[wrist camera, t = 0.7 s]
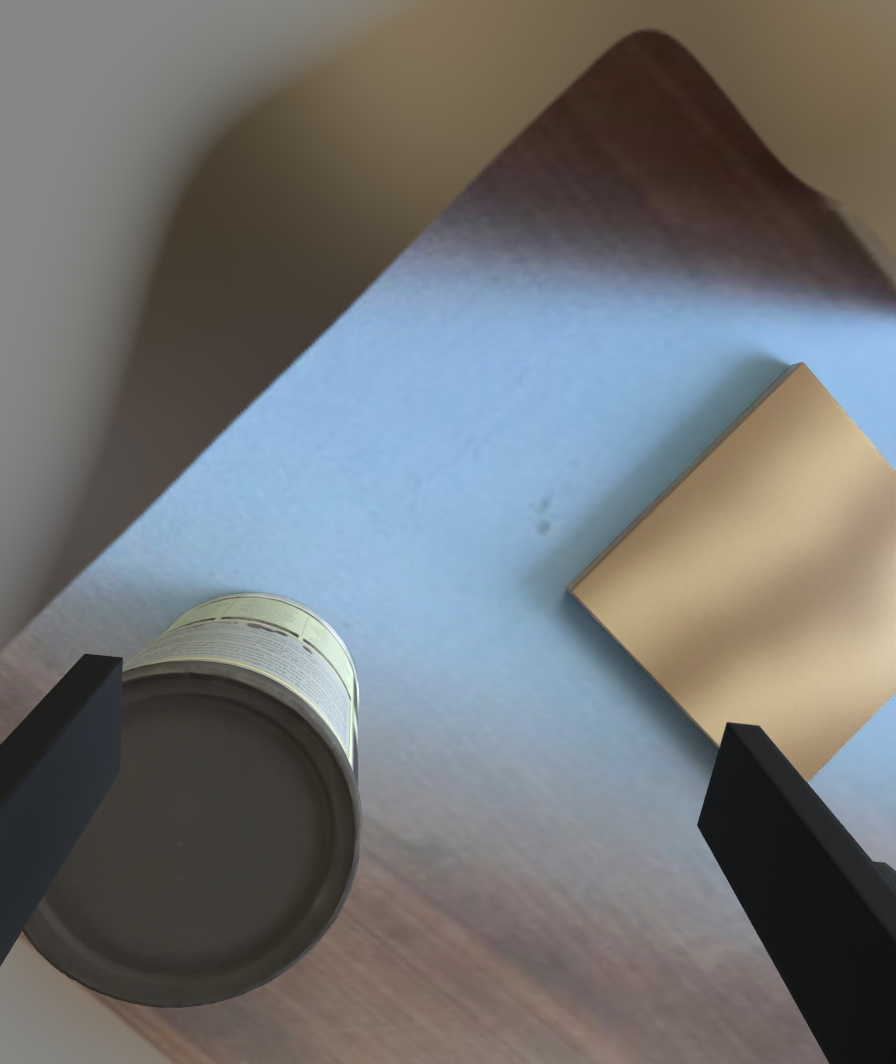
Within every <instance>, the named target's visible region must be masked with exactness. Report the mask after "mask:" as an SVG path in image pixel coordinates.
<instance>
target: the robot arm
mask: <svg viewBox="0 0 896 1064" xmlns="http://www.w3.org/2000/svg"><path fill="white" fill-rule="evenodd" d="M122 673H123V658H121V657H111V656H102V655H92V654H84V655H83V656H82V657H81V658H80V659H79V660H78V661H77V663H76V664H75V665H74V666H73V667H72V668H71V669H70V670H69V671H68V672H67V673H66V674H65V676H64V677H63V678H62V679H61V680H60V681H59V682H58V683H57V684H56V685H55V686H54V687H53V689H52V690H51V691H50V692H49V693H48V694H47V695H46V696H45V697H44V698H43V699H42V700H41V702H40V703H39V704H38V705H37V706H36V707H35V708H34V709H33V710H32V711H31V712H30V713H29V715H28V716H27V717H26V718H25V719H24V720H23V721H22V722H21V723H20V724H19V725H18V726H17V728H16V729H15V730H14V731H13V732H12V733H11V734H10V735H9V736H8V737H7V738H6V739H5V740H4V742H3V743H2V744H1V745H0V966H1V964H2V963H3V961H4V959H5V958H6V956H7V954H8V953H9V951H10V950H11V948H12V946H13V945H14V943H15V942H16V940H17V938H18V937H19V935H20V933H21V932H22V930H23V929H24V927H25V925H26V924H27V922H28V920H29V919H30V917H31V916H32V914H33V912H34V911H35V909H36V907H37V906H38V904H39V903H40V901H41V899H42V898H43V896H44V894H45V893H46V891H47V890H48V888H49V886H50V885H51V883H52V881H53V880H54V878H55V877H56V875H57V873H58V872H59V870H60V868H61V867H62V865H63V864H64V862H65V860H66V859H67V857H68V855H69V854H70V852H71V851H72V849H73V847H74V846H75V844H76V842H77V841H78V839H79V838H80V836H81V834H82V833H83V831H84V829H85V828H86V826H87V825H88V823H89V821H90V820H91V818H92V816H93V815H94V813H95V812H96V810H97V808H98V807H99V805H100V803H101V802H102V800H103V799H104V797H105V795H106V794H107V792H108V790H109V789H110V787H111V786H112V784H113V782H114V781H115V779H116V777H117V776H118V774H119V773H120V752H121V712H122ZM697 826H698V828H699V830H700V831H701V833H702V835H703V837H704V839H705V840H706V842H707V844H708V846H709V848H710V849H711V851H712V853H713V855H714V857H715V858H716V860H717V862H718V864H719V866H720V867H721V869H722V871H723V873H724V875H725V876H726V878H727V880H728V882H729V884H730V885H731V887H732V889H733V891H734V893H735V894H736V896H737V898H738V900H739V902H740V903H741V905H742V907H743V909H744V911H745V912H746V914H747V916H748V918H749V920H750V921H751V923H752V925H753V927H754V929H755V930H756V932H757V934H758V936H759V938H760V939H761V941H762V943H763V945H764V947H765V948H766V950H767V952H768V954H769V956H770V957H771V959H772V961H773V963H774V965H775V966H776V968H777V970H778V972H779V974H780V975H781V977H782V979H783V981H784V983H785V984H786V986H787V988H788V990H789V992H790V993H791V995H792V997H793V999H794V1001H795V1002H796V1004H797V1006H798V1008H799V1010H800V1011H801V1013H802V1015H803V1017H804V1019H805V1020H806V1022H807V1024H808V1026H809V1028H810V1029H811V1031H812V1033H813V1035H814V1037H815V1038H816V1040H817V1042H818V1044H819V1046H820V1047H821V1049H822V1051H823V1053H824V1055H825V1056H826V1058H827V1060H828V1062H829V1064H896V871H895V870H894V869H893V868H891V867H890V866H889V865H887V864H886V863H883V862H873V861H872V860H871V859H870V857H869V856H868V855H867V854H866V853H865V851H864V850H863V849H862V848H861V847H860V845H859V844H858V843H857V842H856V841H855V839H854V838H853V837H852V836H851V835H850V833H849V832H848V831H847V830H846V829H845V827H844V826H843V825H842V824H841V823H840V821H839V820H838V819H837V818H836V817H835V816H834V814H833V813H832V812H831V811H830V810H829V808H828V807H827V806H826V805H825V804H824V802H823V801H822V800H821V799H820V798H819V796H818V795H817V794H816V793H815V792H814V790H813V789H812V788H811V787H810V786H809V784H808V783H807V782H806V781H805V780H804V778H803V777H802V776H801V775H800V774H799V772H798V771H797V770H796V769H795V768H794V766H793V765H792V764H791V763H790V762H789V760H788V759H787V758H786V757H785V756H784V754H783V753H782V752H781V751H780V750H779V748H778V747H777V746H776V745H775V744H774V742H773V741H772V740H771V739H770V738H769V736H768V735H767V734H766V733H765V732H764V730H763V729H762V728H761V727H760V726H759V725H750V724H741V723H732V722H727V723H726V726H725V730H724V733H723V737H722V740H721V744H720V747H719V751H718V754H717V758H716V761H715V765H714V768H713V772H712V775H711V779H710V782H709V786H708V789H707V793H706V796H705V800H704V803H703V807H702V810H701V814H700V817H699V821H698V824H697Z"/></svg>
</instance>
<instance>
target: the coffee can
mask: <svg viewBox="0 0 896 1064" xmlns="http://www.w3.org/2000/svg"><path fill="white" fill-rule="evenodd" d="M358 707H359V686H358V679H357V674H356V669H355V666H354V663H353V660H352V658H351V656H350V653H349V651H348V649H347V648H346V646H345V644H344V642H343V641H342V639H341V638H340V637H339V635H338V634H337V633H336V632H335V630H334V629H333V628H332V627H331V626H330V625H329V624H328V623H327V622H326V621H325V620H324V619H323V618H321V617H320V616H319V615H318V614H316V613H315V612H313V611H312V610H310V609H309V608H307V607H306V606H304V605H302V604H300V603H298V602H295V601H292V600H289V599H286V598H284V597H280V596H276V595H271V594H264V593H238V594H231V595H226V596H221V597H216V598H214V599H211V600H209V601H207V602H205V603H202V604H200V605H197V606H196V607H194V608H192V609H191V610H189V611H188V612H186V613H184V614H183V615H182V616H180V617H179V618H178V619H177V620H176V621H174V622H173V623H172V624H171V625H170V626H169V627H168V628H167V629H166V631H165V632H164V633H162V634H161V635H160V636H159V637H157V638H156V639H155V640H153V641H152V642H151V643H150V644H148V645H147V646H146V647H144V648H143V649H142V650H141V651H140V652H138V653H137V654H136V655H135V656H133V657H132V658H131V659H130V660H128V661H127V662H126V663H124V664H123V673H122V712H121V752H120V773H119V774H118V776H117V777H116V779H115V781H114V782H113V784H112V786H111V787H110V789H109V790H108V792H107V794H106V795H105V797H104V799H103V800H102V802H101V803H100V805H99V807H98V808H97V810H96V812H95V813H94V815H93V816H92V818H91V820H90V821H89V823H88V825H87V826H86V828H85V829H84V831H83V833H82V834H81V836H80V838H79V839H78V841H77V842H76V844H75V846H74V847H73V849H72V851H71V852H70V854H69V855H68V857H67V859H66V860H65V862H64V864H63V865H62V867H61V868H60V870H59V872H58V873H57V875H56V877H55V878H54V880H53V881H52V883H51V885H50V886H49V888H48V890H47V891H46V893H45V894H44V896H43V898H42V899H41V901H40V903H39V904H38V906H37V907H36V909H35V911H34V912H33V914H32V916H31V917H30V919H29V920H28V922H27V924H26V925H25V927H24V929H23V930H22V931H23V933H24V934H25V936H26V937H27V939H28V940H29V941H30V942H31V944H32V945H33V946H34V947H35V949H36V950H37V951H38V952H39V953H40V954H41V955H42V956H43V957H44V958H45V959H46V960H47V961H48V962H49V963H50V964H52V965H53V966H54V967H55V968H56V969H58V970H59V971H60V972H61V973H64V974H65V975H66V976H67V977H68V978H70V979H73V980H75V981H77V982H78V983H80V984H82V985H84V986H85V987H87V988H89V989H91V990H93V991H96V992H98V993H101V994H104V995H107V996H110V997H112V998H115V999H118V1000H122V1001H126V1002H129V1003H133V1004H139V1005H144V1006H151V1007H160V1008H166V1007H173V1008H181V1007H191V1006H201V1005H205V1004H211V1003H216V1002H219V1001H223V1000H226V999H230V998H233V997H236V996H239V995H242V994H245V993H247V992H249V991H251V990H253V989H255V988H258V987H260V986H263V985H265V984H267V983H268V982H270V981H272V980H273V979H275V978H277V977H278V976H280V975H281V974H283V973H284V972H285V971H287V970H288V969H290V968H291V967H292V966H294V965H295V964H296V963H298V962H299V961H300V960H301V959H302V958H303V957H304V956H305V955H307V954H308V953H309V952H310V951H311V950H312V949H313V948H314V947H315V945H316V944H317V943H318V942H319V941H320V939H321V938H322V937H323V936H324V935H325V933H326V932H327V931H328V930H329V928H330V927H331V925H332V924H333V923H334V921H335V920H336V919H337V917H338V915H339V913H340V911H341V909H342V907H343V905H344V903H345V901H346V899H347V897H348V895H349V893H350V890H351V888H352V885H353V881H354V878H355V875H356V871H357V867H358V863H359V858H360V852H361V842H362V813H361V803H360V796H359V791H358V754H357V729H358Z"/></svg>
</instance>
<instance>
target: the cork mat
mask: <svg viewBox="0 0 896 1064" xmlns="http://www.w3.org/2000/svg"><path fill="white" fill-rule="evenodd" d="M566 589H567V591H568V592H569V593H570V594H571V595H572V596H573V597H574V598H575V599H576V600H577V601H578V602H579V603H580V604H581V605H582V606H583V607H584V608H585V610H586V611H587V612H588V613H589V614H590V615H591V616H592V617H593V618H594V619H595V620H596V621H597V622H598V623H599V624H600V625H601V626H602V627H603V628H604V629H605V630H606V631H607V633H608V634H609V635H610V636H611V637H612V638H613V639H614V640H615V641H616V642H617V643H618V644H619V645H620V646H621V647H622V648H623V649H624V650H625V651H626V652H627V653H628V655H629V656H630V657H631V658H632V659H633V660H634V661H635V662H636V663H637V664H638V665H639V666H640V667H641V668H642V669H643V670H644V671H645V672H646V673H647V674H648V675H649V676H650V678H651V679H652V680H653V681H654V682H655V683H656V684H657V685H658V686H659V687H660V688H661V689H662V690H663V691H664V692H665V693H666V694H667V695H668V696H669V697H670V698H671V700H672V701H673V702H674V703H675V704H676V705H677V706H678V707H679V708H680V709H681V710H682V711H683V712H684V713H685V714H686V715H687V716H688V717H689V718H690V719H691V720H692V721H693V723H694V724H695V725H696V726H697V727H698V728H699V729H700V730H701V731H702V732H703V733H704V734H705V735H706V736H707V737H708V738H709V739H710V740H711V741H712V742H713V743H714V745H715V746H716V747H717V748H718V749H719V747H720V744H721V740H722V737H723V733H724V730H725V726H726V723H727V722H732V723H741V724H750V725H759V726H760V727H761V728H762V729H763V730H764V732H765V733H766V734H767V735H768V736H769V738H770V739H771V740H772V741H773V742H774V744H775V745H776V746H777V747H778V748H779V750H780V751H781V752H782V753H783V754H784V756H785V757H786V758H787V759H788V760H789V762H790V763H791V764H792V765H793V766H794V768H795V769H796V770H797V771H798V772H799V774H800V775H801V776H802V777H803V778H804V780H805V781H806V782H808V781H809V780H810V779H811V778H812V777H813V776H814V775H815V774H816V773H817V772H818V771H819V770H820V769H821V768H822V767H823V766H824V765H825V764H826V763H827V762H828V761H829V760H830V759H831V758H832V757H833V756H834V755H835V754H836V753H837V752H838V751H839V750H840V749H841V748H842V747H843V746H844V745H845V744H846V743H847V742H848V741H849V740H850V739H851V738H852V737H853V736H854V735H855V734H856V733H857V732H858V731H859V730H860V729H861V728H862V727H863V726H864V725H865V724H866V723H867V722H868V721H869V720H870V719H871V718H872V717H873V716H874V714H875V713H876V712H877V711H878V710H879V709H880V708H881V707H882V706H883V705H884V704H885V703H886V702H887V701H888V700H889V699H890V698H891V697H892V696H893V695H894V694H895V693H896V471H895V470H894V469H893V468H892V466H891V465H890V464H889V463H888V462H887V461H886V459H885V458H884V457H883V456H882V455H881V453H880V452H879V451H878V450H877V449H876V448H875V446H874V445H873V444H872V443H871V442H870V440H869V439H868V438H867V437H866V436H865V435H864V433H863V432H862V431H861V430H860V429H859V427H858V426H857V425H856V424H855V423H854V421H853V420H852V419H851V418H850V417H849V416H848V414H847V413H846V412H845V411H844V410H843V408H842V407H841V406H840V405H839V404H838V403H837V401H836V400H835V399H834V398H833V397H832V395H831V394H830V393H829V392H828V391H827V389H826V388H825V387H824V386H823V385H822V384H821V382H820V381H819V380H818V379H817V378H816V376H815V375H814V374H813V373H812V372H811V371H810V369H809V368H808V367H807V366H806V365H805V363H803V362H801V363H797V364H793V365H791V366H790V367H789V368H788V369H787V370H786V371H785V372H784V373H783V374H782V375H781V376H780V377H779V378H778V379H777V380H776V381H775V382H774V383H773V384H772V385H771V386H770V387H769V388H768V389H767V390H766V391H765V392H764V393H763V394H762V395H761V396H760V397H759V398H758V399H757V400H756V401H755V402H754V403H753V404H752V405H751V406H750V407H749V408H748V409H747V410H746V411H745V412H744V413H743V414H742V415H741V416H740V417H739V418H738V419H737V420H736V421H735V422H734V423H733V424H732V425H731V426H730V427H729V428H728V429H727V430H726V431H725V432H724V433H723V434H721V435H720V436H719V437H718V438H717V439H716V440H715V441H714V442H713V443H712V444H711V445H710V446H709V447H708V448H707V449H706V450H705V451H704V452H703V453H702V454H701V455H700V456H699V457H698V458H697V459H696V460H695V461H694V462H693V463H692V464H691V465H690V466H689V467H688V468H687V469H686V470H685V471H684V472H683V473H682V474H681V475H680V476H679V477H678V478H677V479H676V480H675V481H674V482H673V483H672V484H671V485H670V486H669V487H668V488H667V489H666V490H665V491H664V492H663V493H662V494H661V495H660V496H659V497H658V498H657V499H656V500H655V501H654V502H653V503H652V504H651V505H650V506H649V507H648V508H647V509H646V510H645V511H644V512H643V513H642V514H641V515H640V516H639V517H638V518H637V519H636V520H635V521H634V522H633V523H632V524H631V525H629V526H628V527H627V528H626V529H625V530H624V531H623V532H622V533H621V534H620V535H619V536H618V537H617V538H616V539H615V540H614V541H613V542H612V543H611V544H610V545H609V546H608V547H607V548H606V549H605V550H604V551H603V552H602V553H601V554H600V555H599V556H598V557H597V558H596V559H595V560H594V561H593V562H592V563H591V564H590V565H589V566H588V567H587V568H586V569H585V570H584V571H583V572H582V573H581V574H580V575H579V576H578V577H577V578H576V579H575V580H574V581H573V582H572V583H571V584H570V585H569V586H568V587H567V588H566Z"/></svg>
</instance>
